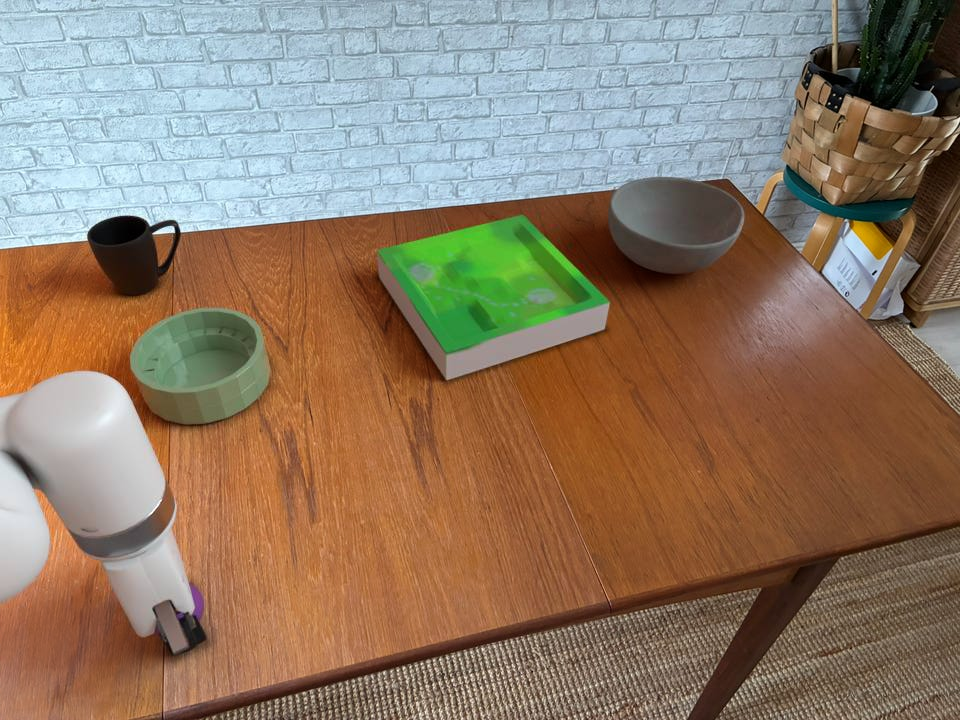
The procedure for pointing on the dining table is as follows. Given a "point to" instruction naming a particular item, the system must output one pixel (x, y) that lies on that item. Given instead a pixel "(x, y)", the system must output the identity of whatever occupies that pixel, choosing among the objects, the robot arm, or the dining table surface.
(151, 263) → the mug
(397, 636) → the dining table surface
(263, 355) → the green bowl
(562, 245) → the dining table surface
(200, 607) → the ball
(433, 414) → the dining table surface
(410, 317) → the tray
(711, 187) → the bowl
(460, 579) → the dining table surface
